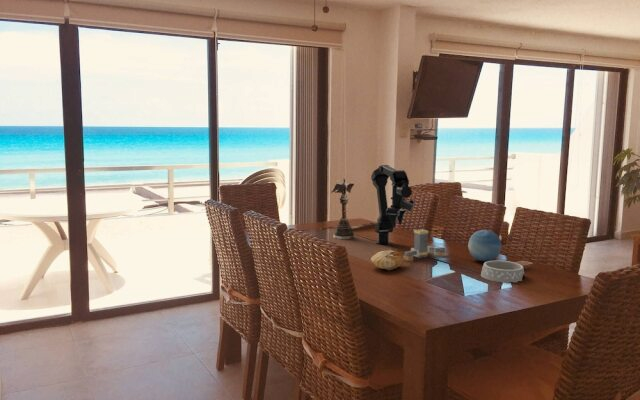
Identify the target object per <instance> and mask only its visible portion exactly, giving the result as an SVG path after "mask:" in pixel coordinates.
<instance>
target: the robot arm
mask: <svg viewBox="0 0 640 400" xmlns="http://www.w3.org/2000/svg"><path fill="white" fill-rule="evenodd" d="M388 179H389V180H390V181H391V187H392V188H391V189H392V191H391V197H390V200H391V205H390V206H389V207H388V198H387V191H386V187H387V184H388ZM370 180H371V181H372V185H373V187H375V189H376V197H377V204H378V205H377V206H378V212H379V215H378V217H377V220H376V224H375V226H374V233H377V234H378V236H377V237H378V238H377V240H378V241H376V242H375V244H377V245H387V246H388V245H389V244H391V243H392V241H390V233H393V232H394V228H396V226H397V222H398V225H402V223H403V219H404V216H405V213H407V212H408V211H409V212H411V211H414V208H415V207H416V203H415V200H414V199H410V200H406V199H408V198H410V197H411V196H412V193H413V191H412V188H411V187H410V186H409V185H410V180H409V177H408V174H407V173H406V171H405V170H403V169H395V168H393V167H391V166H390V165H389V164H381V165H379V166H378V167H377V168H376V169H374V170H373V172H372V174H371V176H370Z"/></svg>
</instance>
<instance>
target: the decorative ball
mask: <svg viewBox="0 0 640 400" xmlns="http://www.w3.org/2000/svg"><path fill="white" fill-rule="evenodd" d="M467 247H468V251H469V254H470V255H471V256H472V257H473V258H474V259H475V260H477V261H479V262H482V263H485V262H487V261H495V260H496V259H497V258H498V257H499V255H500V253H501V251H502V242H501V238H500V237H499V236H498V234H496V233H495V232H494V231H491V230H489V229H481V230H478V231H475V232H474V233H473V234H472V235H471V237H470V238H469V241H468V244H467Z"/></svg>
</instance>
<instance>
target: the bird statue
mask: <svg viewBox="0 0 640 400" xmlns="http://www.w3.org/2000/svg"><path fill="white" fill-rule="evenodd" d="M354 186H355V182H349V183H348V182H347V178H346V177H343V183H340V182H339V181H338V179H337V180H336V184H335V185H334V188H333V189H331V190H330V194H332V193H335V194H337V193H338V194H341V196H340V198H339V202H340V204H341V211H340V212H341V218H340V219H339V220H340V221H339V222H338V225H337V226H336V228H335V232H334V233H333V238H334V239H335V238H337V239H336V240H351V239H354V238H355V234H354V232H353V229H352V227H351V225H350V222H349V218H347V204H348V203H349V197H348V195H347V192H348V193H349V194H351V191H352V188H353V187H354Z"/></svg>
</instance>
